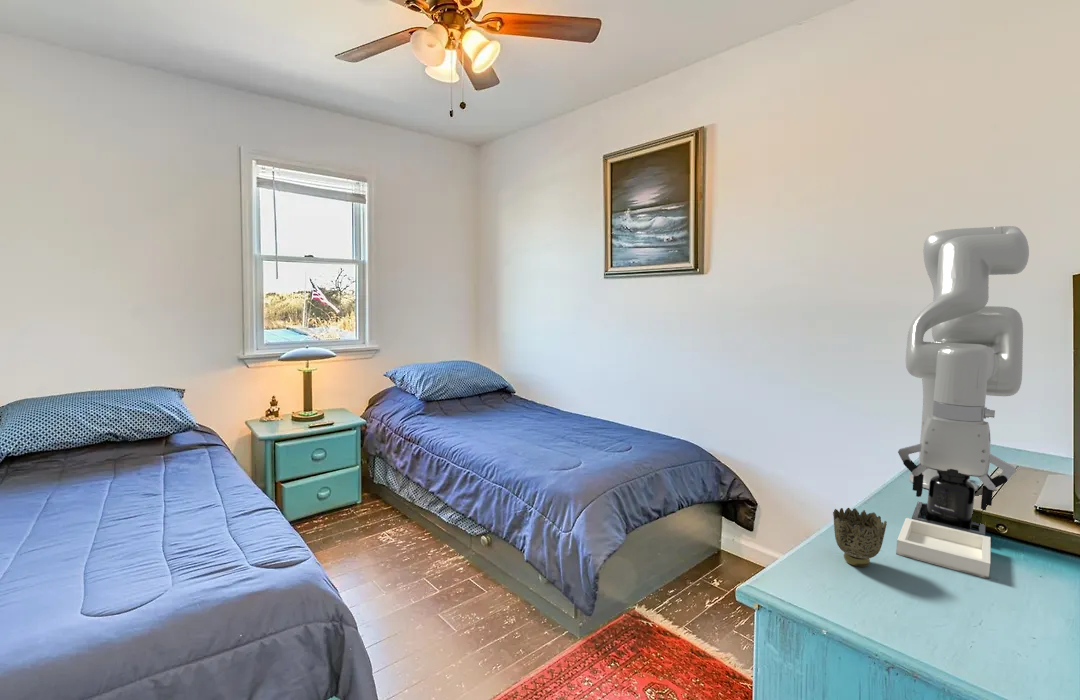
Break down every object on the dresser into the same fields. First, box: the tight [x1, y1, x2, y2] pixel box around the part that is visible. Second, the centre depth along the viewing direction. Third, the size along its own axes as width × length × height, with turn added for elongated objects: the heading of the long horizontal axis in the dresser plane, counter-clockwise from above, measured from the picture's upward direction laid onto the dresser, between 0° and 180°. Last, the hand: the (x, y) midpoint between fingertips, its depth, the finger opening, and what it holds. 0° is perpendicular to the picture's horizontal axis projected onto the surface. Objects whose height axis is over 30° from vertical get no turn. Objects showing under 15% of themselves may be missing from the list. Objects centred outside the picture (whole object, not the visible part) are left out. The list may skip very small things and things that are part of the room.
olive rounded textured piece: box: [832, 507, 888, 568], centre depth 85 cm, size 8×7×8 cm
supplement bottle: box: [925, 469, 976, 530], centre depth 99 cm, size 7×7×12 cm
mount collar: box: [911, 501, 986, 536], centre depth 99 cm, size 11×11×2 cm
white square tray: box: [895, 517, 992, 580], centre depth 89 cm, size 12×12×2 cm
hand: (950, 501), depth 99 cm, fingers open, 9 cm apart
